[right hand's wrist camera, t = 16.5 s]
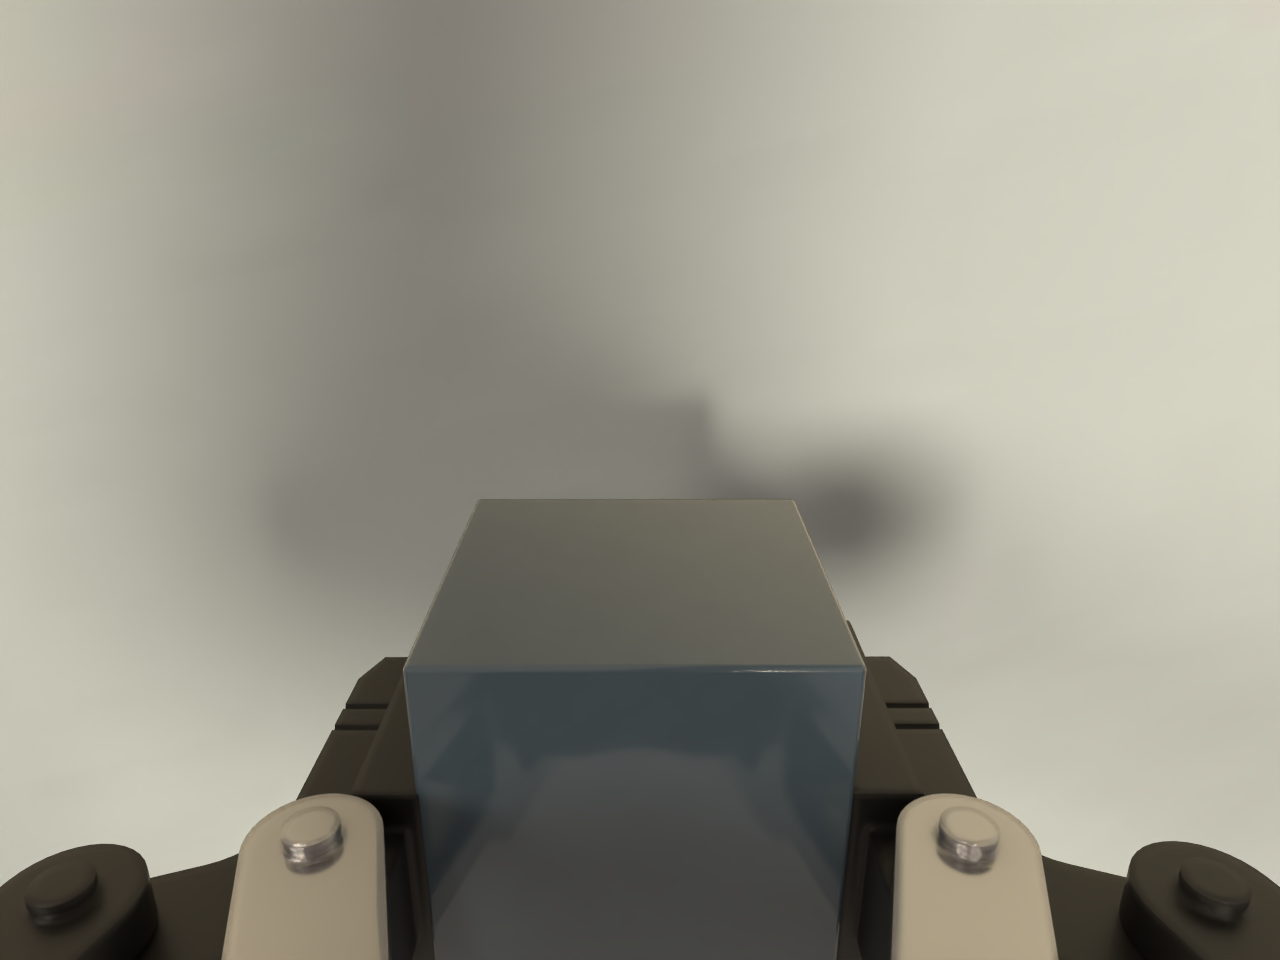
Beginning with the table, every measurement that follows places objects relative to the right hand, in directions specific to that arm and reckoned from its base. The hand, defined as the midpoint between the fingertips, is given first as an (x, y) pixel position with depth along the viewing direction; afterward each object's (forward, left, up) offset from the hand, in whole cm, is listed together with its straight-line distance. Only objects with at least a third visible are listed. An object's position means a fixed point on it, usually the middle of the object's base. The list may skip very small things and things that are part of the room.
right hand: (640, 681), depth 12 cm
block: (0, 0, 0) cm, 0 cm away
